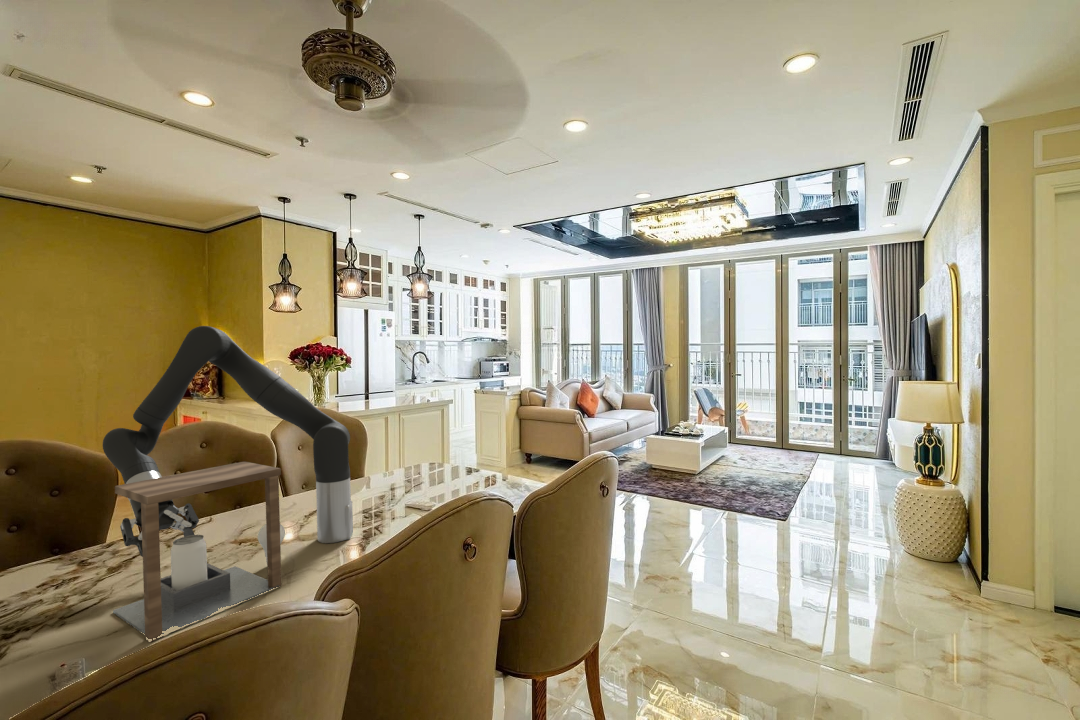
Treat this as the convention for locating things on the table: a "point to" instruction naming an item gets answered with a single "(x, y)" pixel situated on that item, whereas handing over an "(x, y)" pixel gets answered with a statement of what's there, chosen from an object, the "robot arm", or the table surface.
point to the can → (188, 561)
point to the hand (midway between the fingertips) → (170, 549)
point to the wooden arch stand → (188, 485)
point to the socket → (198, 597)
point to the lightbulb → (263, 537)
